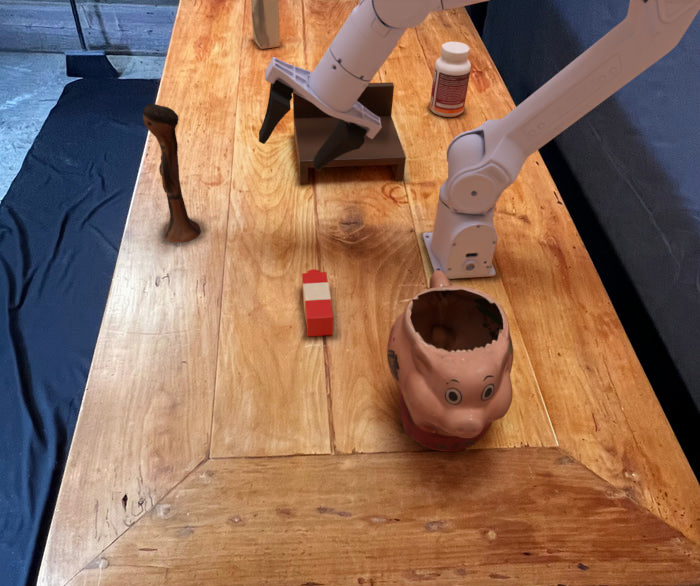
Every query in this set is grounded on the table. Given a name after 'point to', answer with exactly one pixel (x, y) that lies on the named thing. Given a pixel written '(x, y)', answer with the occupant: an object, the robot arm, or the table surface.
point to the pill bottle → (450, 80)
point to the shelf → (380, 150)
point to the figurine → (170, 172)
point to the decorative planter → (451, 364)
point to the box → (266, 23)
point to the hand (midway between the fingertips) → (289, 151)
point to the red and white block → (317, 303)
